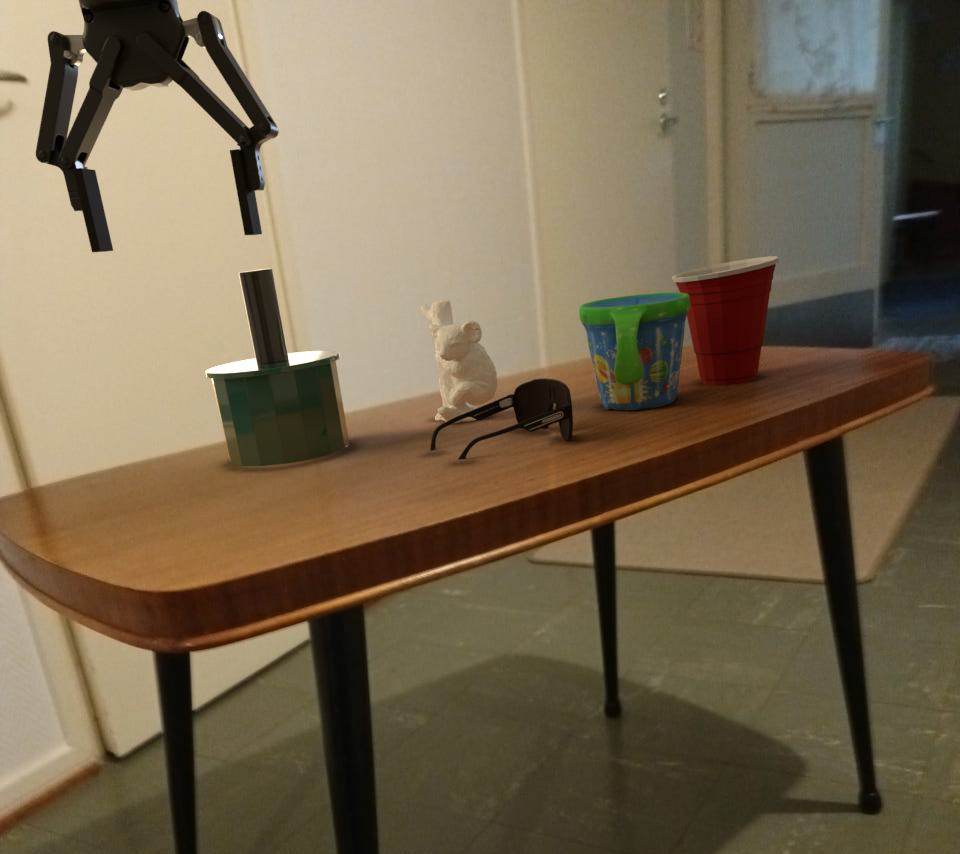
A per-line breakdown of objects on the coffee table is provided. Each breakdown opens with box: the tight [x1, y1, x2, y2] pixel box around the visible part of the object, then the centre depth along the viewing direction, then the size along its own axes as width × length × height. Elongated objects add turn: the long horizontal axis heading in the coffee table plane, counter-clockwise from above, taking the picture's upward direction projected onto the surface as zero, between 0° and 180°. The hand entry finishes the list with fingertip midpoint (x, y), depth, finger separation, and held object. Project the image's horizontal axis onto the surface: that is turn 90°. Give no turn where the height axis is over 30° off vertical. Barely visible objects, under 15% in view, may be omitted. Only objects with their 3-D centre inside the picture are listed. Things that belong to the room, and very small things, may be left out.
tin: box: [211, 360, 350, 467], centre depth 93 cm, size 11×11×8 cm
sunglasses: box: [430, 377, 574, 460], centre depth 86 cm, size 11×12×5 cm
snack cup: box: [578, 292, 690, 412], centre depth 96 cm, size 16×10×10 cm
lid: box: [205, 267, 341, 380], centre depth 90 cm, size 12×12×9 cm
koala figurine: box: [420, 298, 498, 425], centre depth 100 cm, size 8×7×12 cm
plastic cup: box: [671, 255, 780, 386], centre depth 103 cm, size 11×11×12 cm
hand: (177, 243), depth 85 cm, fingers open, 13 cm apart
